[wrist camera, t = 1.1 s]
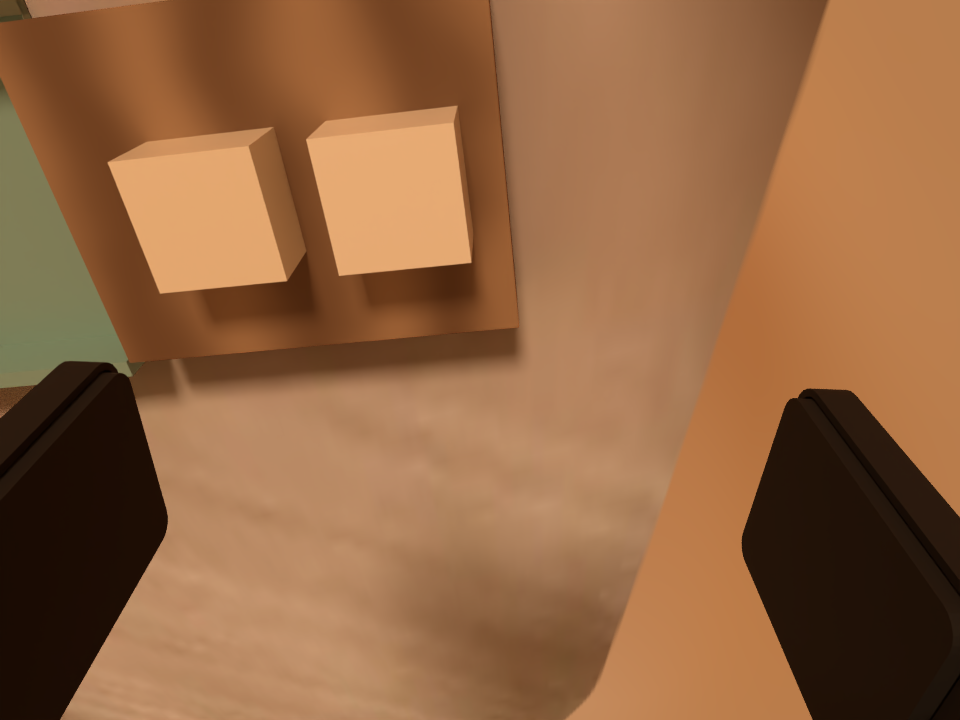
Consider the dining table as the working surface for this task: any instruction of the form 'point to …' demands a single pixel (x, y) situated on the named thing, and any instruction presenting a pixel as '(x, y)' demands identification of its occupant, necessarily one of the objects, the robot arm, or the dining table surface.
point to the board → (295, 116)
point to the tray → (42, 267)
